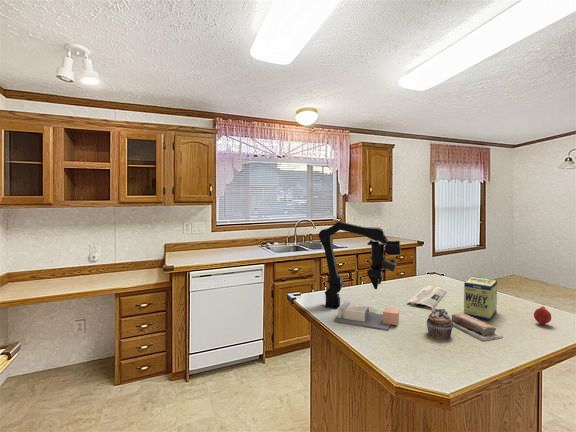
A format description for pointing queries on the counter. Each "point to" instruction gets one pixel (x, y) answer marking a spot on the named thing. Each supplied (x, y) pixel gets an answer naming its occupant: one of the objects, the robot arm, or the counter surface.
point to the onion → (542, 315)
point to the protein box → (480, 298)
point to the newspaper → (428, 296)
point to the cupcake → (439, 324)
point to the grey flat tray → (360, 317)
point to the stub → (391, 316)
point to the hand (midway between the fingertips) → (377, 286)
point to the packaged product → (474, 327)
